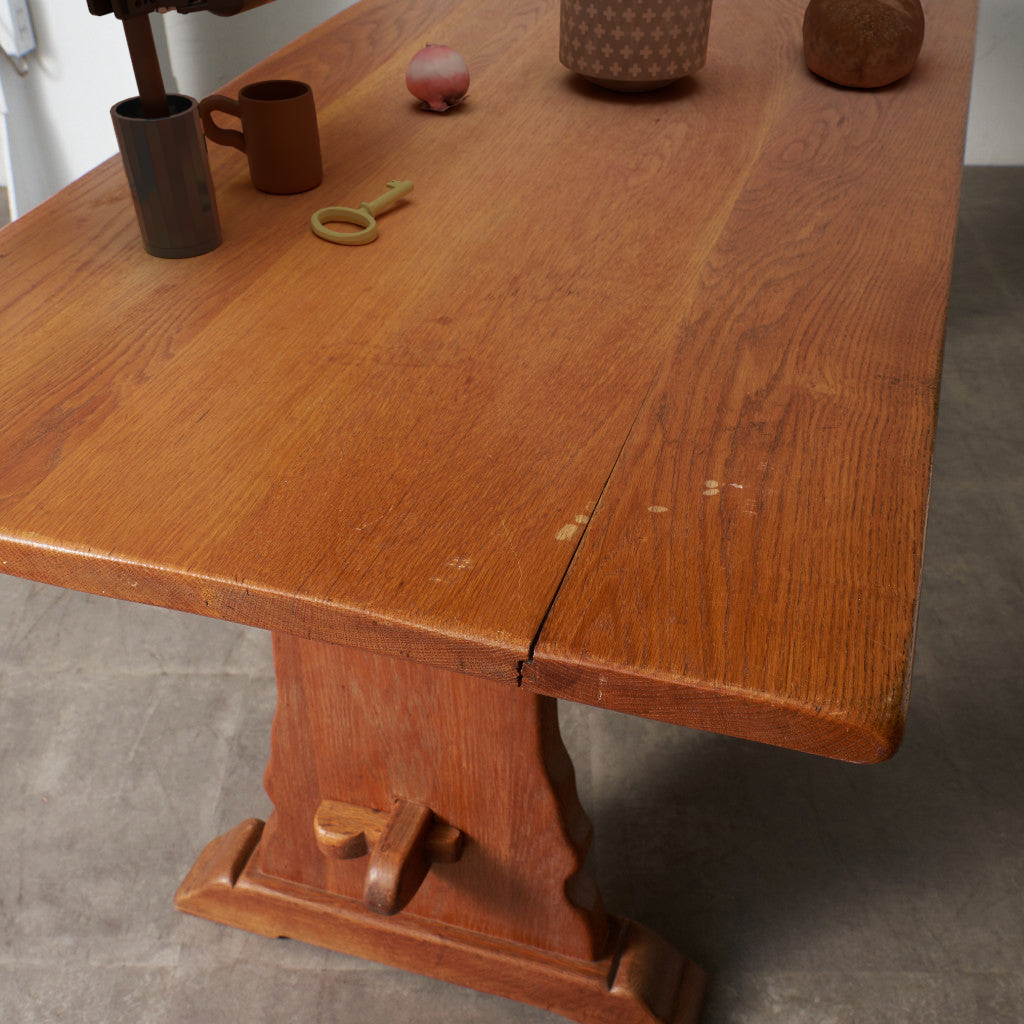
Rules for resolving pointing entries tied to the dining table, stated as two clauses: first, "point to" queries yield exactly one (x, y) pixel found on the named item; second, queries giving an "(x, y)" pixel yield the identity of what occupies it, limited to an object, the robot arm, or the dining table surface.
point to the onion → (438, 76)
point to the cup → (169, 177)
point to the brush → (146, 67)
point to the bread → (863, 40)
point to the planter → (634, 41)
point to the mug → (271, 133)
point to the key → (358, 216)
